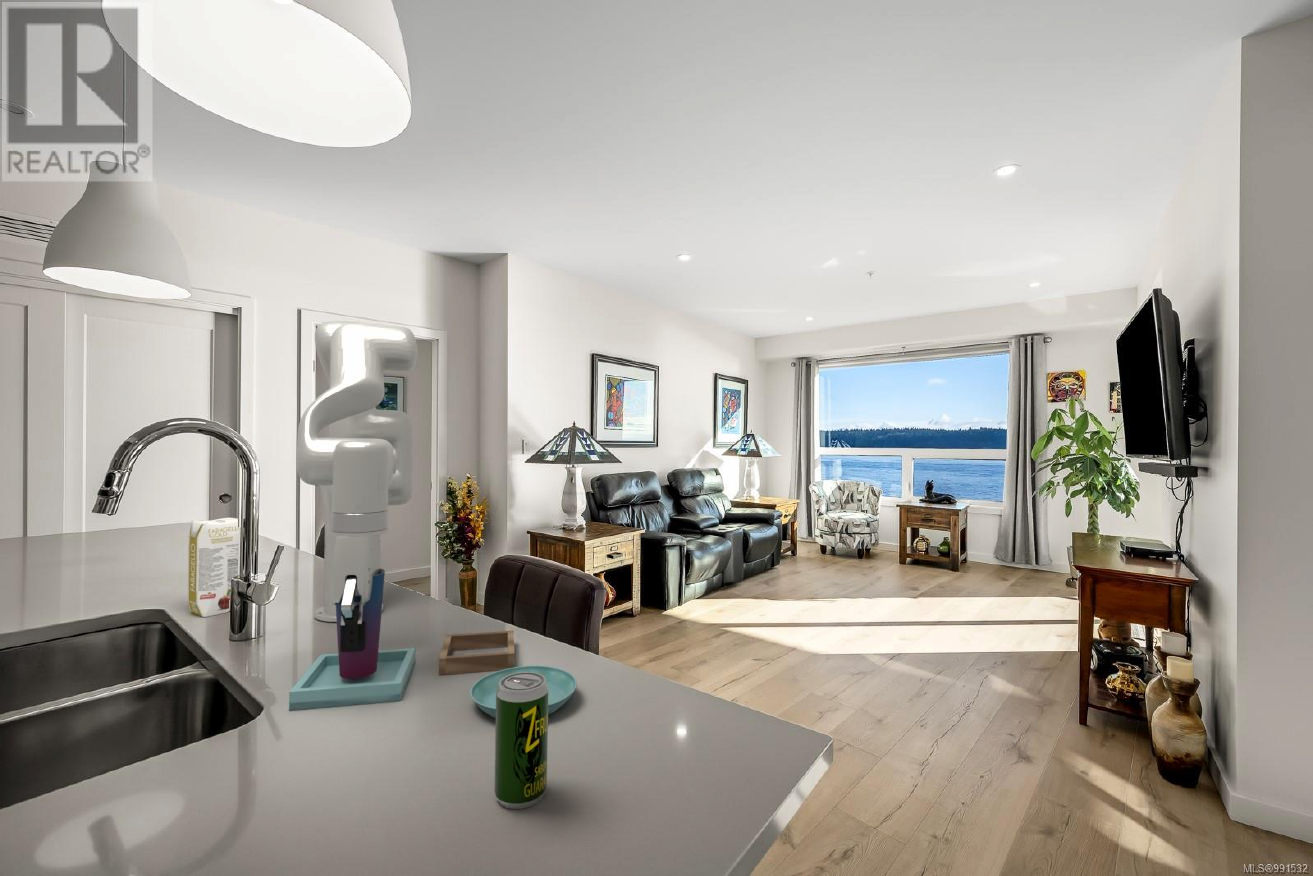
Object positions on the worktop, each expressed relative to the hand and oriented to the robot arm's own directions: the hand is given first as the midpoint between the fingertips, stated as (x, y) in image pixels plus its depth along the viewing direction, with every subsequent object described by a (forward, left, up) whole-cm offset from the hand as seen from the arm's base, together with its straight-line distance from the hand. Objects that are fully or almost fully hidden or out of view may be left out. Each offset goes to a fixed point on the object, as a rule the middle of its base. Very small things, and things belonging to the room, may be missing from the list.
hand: (358, 641), depth 89 cm
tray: (0, 0, -6) cm, 6 cm away
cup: (0, 0, -5) cm, 5 cm away
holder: (-7, +17, -6) cm, 19 cm away
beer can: (+33, +23, -7) cm, 41 cm away
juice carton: (-45, -37, -7) cm, 58 cm away
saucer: (+11, +24, -7) cm, 27 cm away
